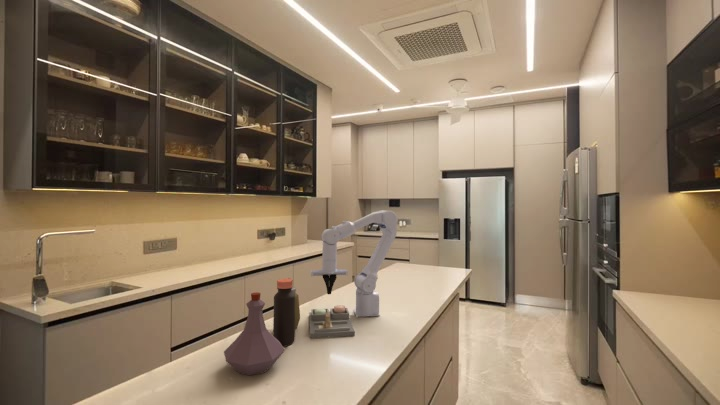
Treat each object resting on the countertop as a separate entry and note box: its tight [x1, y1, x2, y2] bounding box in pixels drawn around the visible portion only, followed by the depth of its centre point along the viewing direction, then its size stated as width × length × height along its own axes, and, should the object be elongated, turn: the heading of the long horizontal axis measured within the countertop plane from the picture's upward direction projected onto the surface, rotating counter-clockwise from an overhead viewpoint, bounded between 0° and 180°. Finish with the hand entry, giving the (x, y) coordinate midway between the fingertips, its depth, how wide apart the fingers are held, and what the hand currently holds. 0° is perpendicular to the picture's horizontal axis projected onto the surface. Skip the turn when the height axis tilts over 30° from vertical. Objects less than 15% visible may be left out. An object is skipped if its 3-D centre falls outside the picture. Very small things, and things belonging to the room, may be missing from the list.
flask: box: [223, 292, 286, 376], centre depth 90 cm, size 16×16×20 cm
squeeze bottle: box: [287, 277, 301, 330], centre depth 118 cm, size 8×8×18 cm
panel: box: [308, 307, 356, 339], centre depth 121 cm, size 15×22×4 cm
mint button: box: [314, 308, 326, 315], centre depth 125 cm, size 4×4×2 cm
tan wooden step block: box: [323, 312, 332, 328], centre depth 115 cm, size 3×5×4 cm, turn 10°
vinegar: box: [272, 278, 296, 347], centre depth 106 cm, size 7×7×20 cm
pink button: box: [333, 305, 346, 314], centre depth 127 cm, size 4×4×2 cm
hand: (329, 293), depth 130 cm, fingers closed
